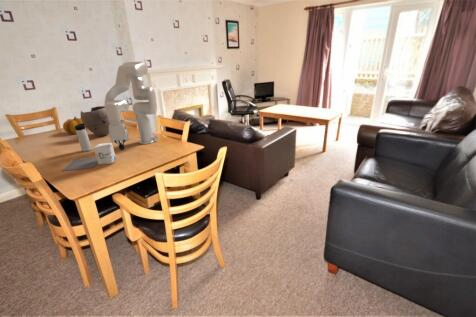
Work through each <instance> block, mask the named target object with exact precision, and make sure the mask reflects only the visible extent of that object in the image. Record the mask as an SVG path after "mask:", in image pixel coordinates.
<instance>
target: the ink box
mask: <svg viewBox="0 0 476 317" xmlns="http://www.w3.org/2000/svg"><path fill="white" fill-rule="evenodd" d="M93 151H94V155H95V157H96V158H97V162H98V163H97V165H109V164H110V165H111V164H112V163H113V162H114V161H115V160H116V159H117V156H116V153H115V149H114V146H113V142H105V143H98V144H97V145H96V146H94V147H93Z"/></svg>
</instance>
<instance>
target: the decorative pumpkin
mask: <svg viewBox="0 0 476 317" xmlns="http://www.w3.org/2000/svg"><path fill="white" fill-rule="evenodd" d="M79 124H83V122H82V119H81V117H79V118H78V117H77V116H74V118H73V119H72V118H69V119H66V121H64V122H63V124H62V129H63V130H64V132H65V133H67V134H70V135H71V134H75V135H77V133H76V129H75V126H76V125H79ZM85 128H86V131H87V130H89V129H88V128H87V127H86V126H85Z"/></svg>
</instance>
